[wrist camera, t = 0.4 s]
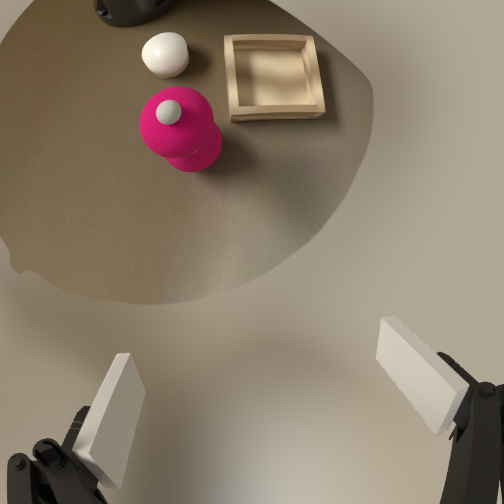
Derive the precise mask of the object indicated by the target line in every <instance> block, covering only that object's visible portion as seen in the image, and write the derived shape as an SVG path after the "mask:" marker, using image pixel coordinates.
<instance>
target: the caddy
mask: <svg viewBox="0 0 504 504" xmlns="http://www.w3.org/2000/svg"><path fill="white" fill-rule="evenodd" d="M224 56H225V67H226V78H227V90H228V101H229V111H230V122H237V121H250V120H267V119H302V118H314V119H316V118H317V117H319V116H320V115H322V114H324V113H325V105H324V98H323V91H322V85H321V78H320V72H319V67H318V61H317V56H316V50H315V45H314V40H313V36H306V35H289V34H243V35H225V36H224Z"/></svg>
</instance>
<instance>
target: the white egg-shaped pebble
mask: <svg viewBox="0 0 504 504" xmlns="http://www.w3.org/2000/svg"><path fill="white" fill-rule="evenodd" d="M142 58H143V61H144V62H145V64H146V65H147V67H148V69H149V70H150V72H151V73H152V74H153V75H154V76H156V77H158V78H163V79H167V78H172V77H175V76H177V75H179V74H180V73H182V72H183V71H184V70H185V69H186V67H187V65H188V63H189V54H188V50H187V46H186V42H185V40H184V38H183V37H182V36H180V35H178V34H176V33H170V32H168V33H161V34H158V35H156V36H154V37H153V38H151V39H150V40H149V41H148V42H147V43H146V44H145V46H144V48H143V51H142Z"/></svg>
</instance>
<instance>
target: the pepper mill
mask: <svg viewBox="0 0 504 504" xmlns="http://www.w3.org/2000/svg"><path fill="white" fill-rule="evenodd" d="M139 128H140V134H141V136H142V139H143V141H144V142H145V144H146V145H147V146H148V148H149V149H150V150H152V151H153V152H154V153H156V154H158V155H160V156H162V157H165V158H166V159H167V161H168V162H169V163H170V164H171V165H172V166H173V167H175V168H176V169H178V170H181V171H184V172H197V171H201V170H203V169H205V168H207V167H209V166H210V165H211V164H212V163H213V162H214V161H215V160H216V159H217V157H218V155H219V153H220V151H221V147H222V136H221V133H220V130H219V128H218V127H217V125H216V124H215V123H214V117H213V112H212V109H211V106H210V104H209V103H208V101H207V100H206V99H205V97H204V96H203V95H201V94H200V93H199V92H197V91H195V90H193V89H191V88H187V87H171V88H167V89H164V90H162V91H160V92H158V93H157V94H155V95H154V96H153V97H152V98H150V100H149V101H148V102H147V103H146V105H145V106H144V108H143V110H142V112H141V116H140V122H139Z"/></svg>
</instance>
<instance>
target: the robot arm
mask: <svg viewBox="0 0 504 504" xmlns="http://www.w3.org/2000/svg"><path fill="white" fill-rule="evenodd" d="M93 1H94V9H95V11H96V13H97V15H98V16H99V17H100V19H101V20H102V21H103V22H104V23H106V24H108V25H111V26H116V27H128V26H134V25H138V24H142V23H145V22H147V21H150V20H152V19H154V18H156V17H158V16H160V15H162V14H163V13H165V12H166V11H168V10H169V9H170V8H171V7H173V6H174V5H175V4H176V3H177V1H178V0H93ZM376 359H377V361H378V362H379V363H380V364H381V366H382V367H383V368H384V369H385V371H386V372H387V373H388V374H389V376H390V377H391V378H392V379H393V381H394V382H395V383H396V385H397V386H398V387H399V389H400V390H401V391H402V392H403V394H404V395H405V396H406V398H407V399H408V400H409V401H410V403H411V404H412V405H413V406H414V408H415V409H416V411H417V412H418V413H419V414H420V416H421V417H422V418H423V420H424V421H425V422H426V424H427V425H428V426H429V428H430V429H431V430H432V432H433V433H434V434H435V436H437V435H439V434H440V433H442V432H444V431H446V430H448V429H449V427H450V425H451V423H452V421H454V422H455V423H456V426H455V428H454V430H453V432H452V433H451V435H450V437H449V440H451V438H452V437H453V443H452V451H451V457H450V462H449V467H448V472H447V476H446V481H445V485H444V489H443V493H442V497H441V501H440V504H496V503H497V496H498V488H499V479H500V485H501V494H502V504H504V384H502V385H499V386H495V385H494V384H492V383H490V382H481V383H478V382H477V381H476V380H475V379H474V378H473V377H472V376H471V375H470V374H469V373H468V372H466V371H465V370H464V369H463V368H462V367H460V365H459V364H458V363H455V361H454V360H453V359H452V358H451V357H450V356H449V355H447V354H444V353H442V352H438V353H435V352H434V351H433V350H432V349H431V348H429V347H428V346H427V345H426V344H425V343H424V342H423V341H421V339H420V338H418V337H417V336H416V335H415V334H414V333H413V332H412V331H411V330H409V329H408V328H407V327H406V326H405V325H404V324H403V323H402V322H400V321H399V320H398V319H397V318H396V317H395V316H393V315H390V316H386V317H383V318H381V324H380V333H379V340H378V348H377V354H376ZM145 393H146V392H145V389H144V387H143V384H142V382H141V380H140V377H139V375H138V372H137V370H136V367H135V364H134V362H133V359H132V356H131V354H130V353H118V354H117V355H116V357H115V359H114V361H113V363H112V365H111V367H110V369H109V371H108V373H107V375H106V377H105V379H104V381H103V383H102V385H101V387H100V389H99V391H98V393H97V395H96V398H95V399H94V402H93V403H92V406H91V407H90V406H84V407H83V408H82V409H81V410H80V411H78V412H77V414H76V416H75V418H74V420H73V421H74V422H73V423H72V425H71V427H70V429H69V431H68V433H67V435H66V437H65V439H64V442H63V444H62V446H61V447H60V445H59V444H58V443H57V442H56V441H55V440H53V439H49V438H46V439H42V440H40V441H38V442H37V443H36V444H35V445H34V448H33V456H34V457H35V458H36V459H37V460H38V461H31V460H30V459H29V458H28V456H27V455H25V454H23V453H17V454H14V455H13V456H11V458H10V459H9V461H8V465H7V502H8V504H108V503H107V501H106V500H105V498H104V496H103V495H102V493H101V492H100V490H99V489H98V488H97V484H98V481H99V482H100V483H101V484H102V485H103V486H104V487H107V488H113V489H119V490H120V489H121V486H122V481H123V477H124V472H125V468H126V464H127V460H128V456H129V452H130V448H131V444H132V440H133V436H134V433H135V428H136V425H137V421H138V417H139V414H140V410H141V407H142V404H143V400H144V397H145ZM453 435H454V436H453Z"/></svg>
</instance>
